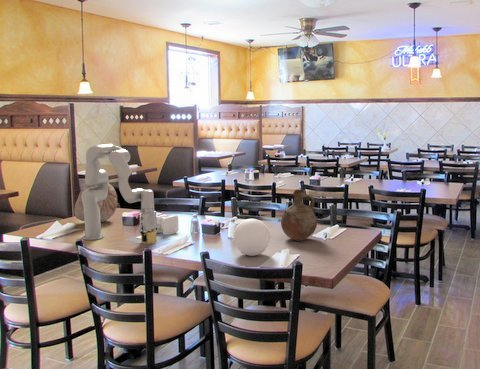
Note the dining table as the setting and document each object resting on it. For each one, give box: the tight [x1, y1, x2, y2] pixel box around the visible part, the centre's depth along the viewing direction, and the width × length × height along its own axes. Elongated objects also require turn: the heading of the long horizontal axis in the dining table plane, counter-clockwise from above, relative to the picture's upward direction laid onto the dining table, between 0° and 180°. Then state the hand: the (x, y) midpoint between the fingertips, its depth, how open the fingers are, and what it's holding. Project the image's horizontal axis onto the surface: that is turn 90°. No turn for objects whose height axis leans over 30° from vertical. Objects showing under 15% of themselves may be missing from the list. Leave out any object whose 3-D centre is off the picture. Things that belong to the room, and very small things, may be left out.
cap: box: [140, 230, 157, 244], centre depth 304 cm, size 6×6×7 cm
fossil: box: [74, 182, 119, 223], centre depth 363 cm, size 31×26×30 cm
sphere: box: [232, 218, 271, 257], centre depth 276 cm, size 20×20×20 cm
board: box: [124, 235, 170, 246], centre depth 310 cm, size 22×18×5 cm
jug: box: [280, 189, 318, 242], centre depth 308 cm, size 22×22×30 cm
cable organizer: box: [156, 213, 179, 236], centre depth 328 cm, size 15×11×12 cm
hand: (148, 239), depth 305 cm, fingers closed on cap, 6 cm apart
